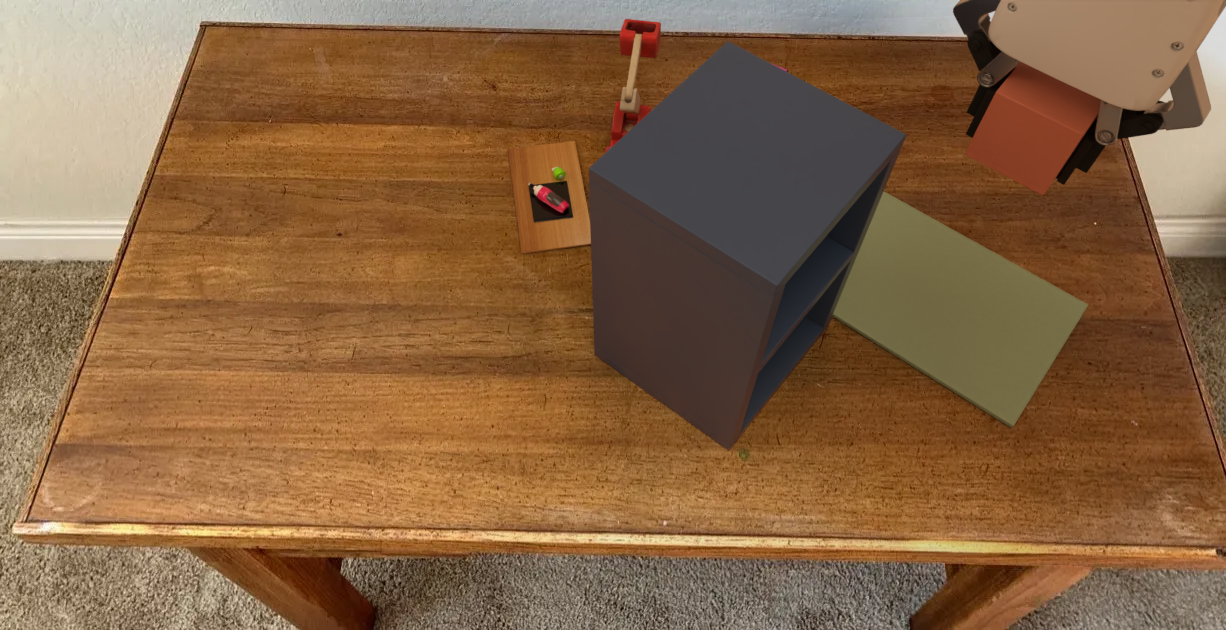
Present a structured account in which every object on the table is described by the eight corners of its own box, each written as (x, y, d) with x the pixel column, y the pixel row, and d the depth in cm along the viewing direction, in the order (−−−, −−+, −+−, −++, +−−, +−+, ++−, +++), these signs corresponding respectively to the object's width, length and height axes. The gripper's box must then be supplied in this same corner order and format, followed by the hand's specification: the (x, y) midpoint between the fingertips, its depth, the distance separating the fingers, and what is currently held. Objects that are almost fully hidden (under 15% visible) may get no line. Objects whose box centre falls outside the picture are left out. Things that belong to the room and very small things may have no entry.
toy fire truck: (599, 202, 77) (598, 124, 68) (623, 94, 84) (624, 11, 76) (637, 207, 76) (640, 129, 68) (657, 98, 84) (662, 15, 75)
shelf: (828, 326, 70) (907, 134, 51) (728, 451, 64) (777, 285, 45) (698, 244, 74) (727, 40, 56) (594, 354, 68) (588, 167, 50)
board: (575, 142, 80) (574, 131, 79) (594, 244, 74) (594, 234, 73) (508, 150, 80) (506, 139, 79) (521, 254, 74) (519, 243, 72)
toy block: (1078, 145, 57) (1120, 82, 52) (1043, 196, 55) (1083, 134, 50) (1001, 107, 59) (1035, 43, 54) (963, 154, 56) (995, 91, 52)
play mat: (1086, 307, 71) (1088, 304, 71) (1011, 428, 65) (1013, 426, 65) (873, 188, 78) (874, 185, 77) (788, 289, 72) (788, 286, 71)
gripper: (1393, -85, 40) (1174, 176, 55) (1042, -211, 45) (932, 58, 61) (1347, -1, 37) (1128, 250, 52) (977, -148, 42) (878, 118, 58)
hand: (1024, 145), depth 56 cm, fingers closed on toy block, 5 cm apart
